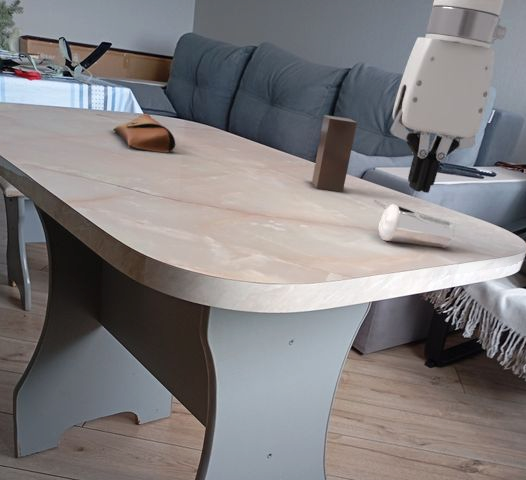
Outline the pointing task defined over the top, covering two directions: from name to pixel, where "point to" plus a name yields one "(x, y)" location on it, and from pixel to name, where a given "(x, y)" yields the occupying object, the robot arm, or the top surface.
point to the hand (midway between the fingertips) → (418, 189)
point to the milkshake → (413, 227)
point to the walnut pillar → (333, 153)
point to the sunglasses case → (146, 134)
